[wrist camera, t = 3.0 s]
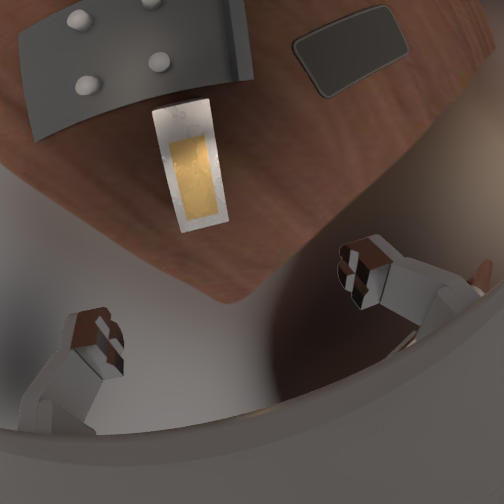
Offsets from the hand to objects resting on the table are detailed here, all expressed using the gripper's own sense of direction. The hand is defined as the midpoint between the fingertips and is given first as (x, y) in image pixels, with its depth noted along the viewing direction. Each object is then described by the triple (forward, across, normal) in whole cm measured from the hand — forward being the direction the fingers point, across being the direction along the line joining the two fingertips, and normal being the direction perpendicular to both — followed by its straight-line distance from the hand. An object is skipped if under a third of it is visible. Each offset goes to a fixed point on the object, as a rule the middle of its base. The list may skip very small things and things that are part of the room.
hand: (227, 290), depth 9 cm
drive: (+19, 0, 0) cm, 19 cm away
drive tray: (+19, +4, -12) cm, 23 cm away
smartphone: (+20, -19, -10) cm, 29 cm away
